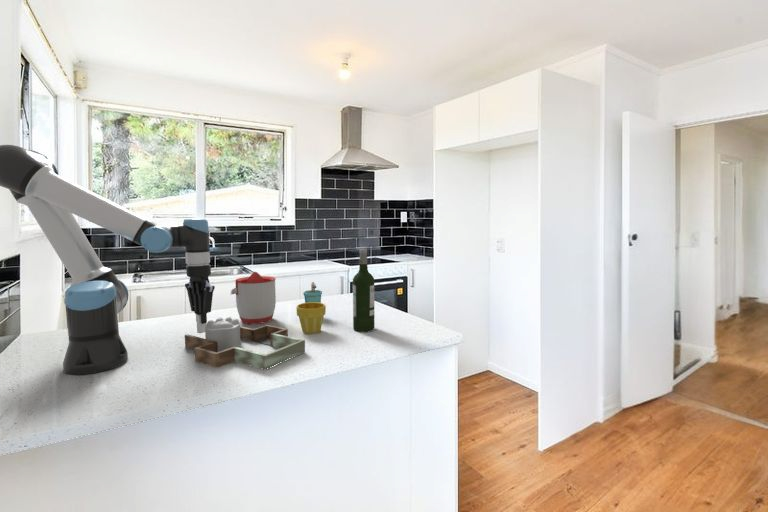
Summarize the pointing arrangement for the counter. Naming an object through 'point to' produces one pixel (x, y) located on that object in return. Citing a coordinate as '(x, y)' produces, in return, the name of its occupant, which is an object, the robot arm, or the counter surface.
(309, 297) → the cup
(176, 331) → the counter surface
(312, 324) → the plant pot
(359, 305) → the wine bottle
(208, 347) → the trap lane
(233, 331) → the lumpy-topped squat cylinder
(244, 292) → the citrus juicer
